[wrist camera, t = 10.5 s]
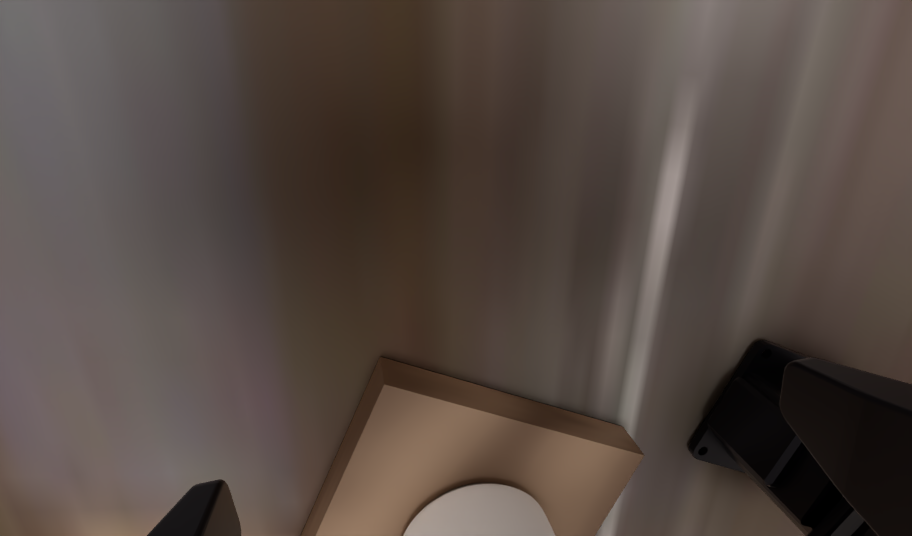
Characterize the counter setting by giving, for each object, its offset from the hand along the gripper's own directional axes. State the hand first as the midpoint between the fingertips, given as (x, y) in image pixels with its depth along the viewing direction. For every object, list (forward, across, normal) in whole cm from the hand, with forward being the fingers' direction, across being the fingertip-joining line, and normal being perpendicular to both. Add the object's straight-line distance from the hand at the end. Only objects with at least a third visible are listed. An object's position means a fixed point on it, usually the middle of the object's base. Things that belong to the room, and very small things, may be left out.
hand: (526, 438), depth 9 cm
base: (+13, 0, +14) cm, 19 cm away
